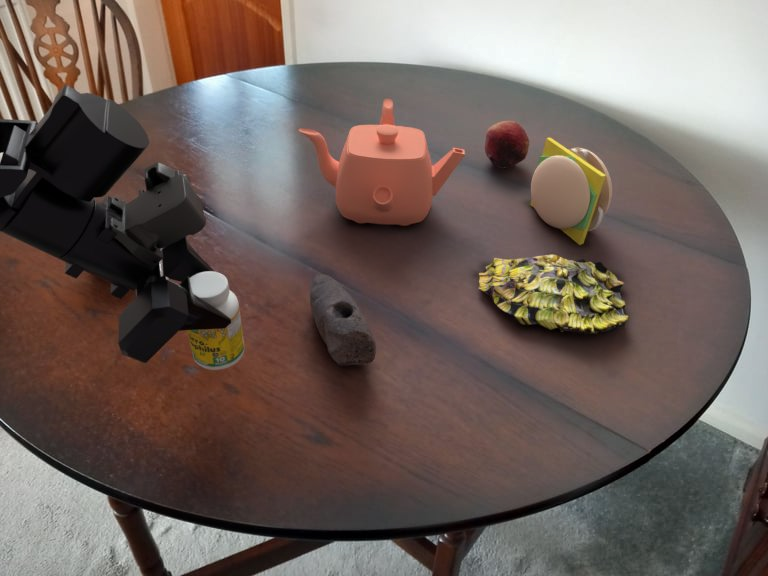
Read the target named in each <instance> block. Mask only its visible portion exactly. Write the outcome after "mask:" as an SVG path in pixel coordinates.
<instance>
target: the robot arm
mask: <svg viewBox="0 0 768 576" xmlns="http://www.w3.org/2000/svg"><path fill="white" fill-rule="evenodd" d="M147 133H148V132H147V131H146V130H145V128H144V127H143V126H142V125H141V123H140V122H139V121H138V120H137V119H136V118H135V116H134V115H132V114H131V113H130V112H129V111H128V110H127V109H125V108H124V107H123V106H122V105H120V104H119V103H117V102H116V101H114V100H113V99H110V98H108V99H106V98H104V97H103V96H100V95H97V94H94V93H90V92H80V91H78V90H77V89H75V88H73V87H72V86H70V85H69V84H67V85H65V84H64V85H63V86H62V87H61V89H60V90H59V91H58V92H57V93H56V95H55V96H54V99H53V101H52V104H51V106H50V107H49V109H48V110H47V111H46V112H45V114H44V115H43V116H42V118H40V120H39V121H38V122H37V121H36V120H28V119H27V120H26V119H7V118H0V154H2V156H1V159H0V233H3V234H5V235H7V236H9V237H12V238H14V239H16V240H18V241H20V242H22V243H25V244H26V245H27V246H30V247H33V248H35V249H37V250H39V251H41V252H43V253H44V254H47V255H49V256H52V257H54V258H56V259H58V260H60V261H62V262H64V263H65V268H64V274H65V275H67V276H70V277H72V278H74V279H78V278H79V277H80V275H82V273H83V272H86V273H87V274H89V275H92V276H94V277H96V278H99V279H100V280H103V281H105V282H107V283H109V284H110V293H109V295H111V296H113V297H115V298H117V299H120V300H122V299H123V298H124V297H125V296H126V294H127V293H128V292H129V291H132V292H134V291H135V298H133V300H132V301H131V302H130V303H129V304H128V305H127V306H126V307H125V308H124V309H123V310H122V311H121V312H120V313H119V314H118V341H117V344H118V347H119V350H120V352H121V353H120V354H121V355H123V356H124V357H127V358H130V359H132V360H136V361H138V362H140V363H143V364H144V363H145V364H147V363H148V362H149V361H150V360H151V359H152V358H153V357H154V356H155V355H156V354H157V353H158V352H159V351H160V350H162V348H163V347H164V346H165V345H167V343H168V342H169V341H170V340H171V339H172V338H173V337H174V336H175V335H176V334H177V333H178V332H182V331H187V330H203V329H224V328H226V327H227V326H228V325H229V324H230V323H231V319H230V318H229V317H228V316H226V315H225V314H224V313H222V312H221V311H219V310H218V309H216V308H215V307H213V306H212V305H210V304H208V303H207V302H205V301H204V300H202V299H201V298H199V297H197V296H196V295H194V294H193V292H192V288H191V283H190V278H191V277H192V276H194V275H195V274H198V273H201V272H206V271H213V272H216V271H215V270H214V269H213V268H212V267H211V266H210V265H209V263H208V262H207V261H205V260H204V258H203V257H202V256H201V255H200V254H199V253H198V252H197V250H195V248H193V246H192V245H191V244H190V242H189V241H188V239H187V237H188V236H194V235H196V234H197V233H200V232H201V231H203V229H204V228H205V226H206V223H207V218H206V216H205V212H204V201H203V200H202V199H201V197H200V196H199V195H198V194H197V192H196V191H195V189H194V187H192V186H191V180H190V176H189V175H187V174H185V173H184V174H182V172H181V171H180V169H177V170H175V169H173V168H171V167H169V166H167V165H165V164H164V163H161V162H159V161H156V162H154V163H153V164H151V165H148V166H147V167H145V168H144V172H143V173H144V183H145V190H144V189H143V188H141V189H139V190H138V191H137V192H138V196H137V197H135V198H134V199H132V200H131V201H129V202H127V201H125V200H122V199H121V198H119V197H117V196H113V195H112V196H109V195H107V194H108V193H109V191H110V190H112V188H113V187H114V186H115V184H116V183H117V182H118V181H119V180H120V179H121V178H122V176H123V175H124V174H125V173H126V172H127V171H128V170H129V169H130V167H131V166H132V165H134V163H135V162H136V160H138V158H139V157H140V156H141V155H142V154H143V153H144V151H145V150H146V149H147V148H148V147H149V145H150V139H149V136H148V134H147ZM103 197H104V198H103ZM95 198H103V199H102V200H101V201H99V200H97V199H95ZM174 281H176V282H179V283H176V282H174Z"/></svg>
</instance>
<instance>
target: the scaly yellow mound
mask: <svg viewBox="0 0 768 576" xmlns="http://www.w3.org/2000/svg"><path fill="white" fill-rule="evenodd" d="M485 269H486V271H485V272H478V276H479V280H478V283H479V286H478V290H480V291H482V292H484V293H485V294H486V295H488V296H489V297H490V299H492V300H493V302H494V304H495V305H496V306H497V307H498V308H499V309H500V310H502V311H503V312H504V313H506V314H507V316H509V317H511V319H513V320H515V321H516V322H517V323H518V324H520V325H527V326H529V325H540V326H542V327H544V328H546V329H548V330H550V331H552V330H555V329H559V330H560V333H563V332H564V331H565V332H573V333H580V334H583V335H585V334H586V335H597V334H598V333H599V334H601V333H604V332H613V331H615V330H618V329H620V328H622V327H625V326H626V323H627V321H628V320H629V317H630V316H629V315H627V314H626V313H625V308H626V302H625V301H624V299H623V297H622V291H621V289H622V288H623V286H624V285H625V282H624V281H621V280H619V279H618V278H617V276H616V275H615V274H614V273H613V272H612V271H610V270H609V269H608V267H606V266H605V265H604V263H603V262H602V261H597V262H595V263H593V262H592V261H586V260H585V259H577V260H576V259H567V258H564V257H562V256H559V255H557V254H546V255H537V256H528V257H522V258H514V259H507V258H506V259H505V258H498V257H494V258H493V261H492V262H491V263H489V265H486V266H485Z"/></svg>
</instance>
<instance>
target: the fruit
mask: <svg viewBox="0 0 768 576" xmlns="http://www.w3.org/2000/svg"><path fill="white" fill-rule="evenodd" d="M529 149H530V139H529V136H528V133H527V132H526V130H525V129H524V127H523V126H522V125H521V124H519V122H516V121H514V120H504V121H503V120H502V121H499V122H497V123H495V124H492V125H491V126H490V127H489V128H488V129H487V131H486V134H485V140H484V152H485V155H486V157H487V158H488V160H489V161H490V163H492V165H494V166H496V167H498V168H500V169H508V168H511V167H514V166H516V165H518V164H519V163H521V162H523V161H524V160H525V159H526V158H527V155H528V153H529Z"/></svg>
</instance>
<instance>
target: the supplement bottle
mask: <svg viewBox="0 0 768 576" xmlns="http://www.w3.org/2000/svg"><path fill="white" fill-rule="evenodd" d="M190 283H191V288H192V292H193V294H194V295H196V296H197V297H199V298H201V299H202V300H204V301H205V302H207V303H208V304H210V305H212V306H213V307H215V308H216V309H218V310H219V311H221V312H222V313H224V314H225V315H226V316H228V317H229V318H230V319H231V323H230V324H229V325H228V326H227V327H226V328H224V329H203V330H186V332H187V337H188V341H189V342H188V343H189V346H190V350H191V354H192V358H193V360H194V362H195V363H196V365H198V366H199V367H201V368H203V369H206V370H209V371H210V370H211V371H218V370H224V369H228V368H230V367H232V366H234V365H236V364H237V363H238V362H239V361H240V360H241V359H242V357H243V356H244V354H245V347H246V346H245V339H244V332H243V326H242V325H243V324H242V318H241V312H240V311H241V309H240V305H239V299H238V297H237V296H236V294H235V293H234V291H232V290H230V285H229V280H228V278H227V277H226V276H225V275H224V274H222V273H220V272H218V271H215V272H213V271H206V272H201V273H198V274H195V275H194V276H192V277H191V278H190Z"/></svg>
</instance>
